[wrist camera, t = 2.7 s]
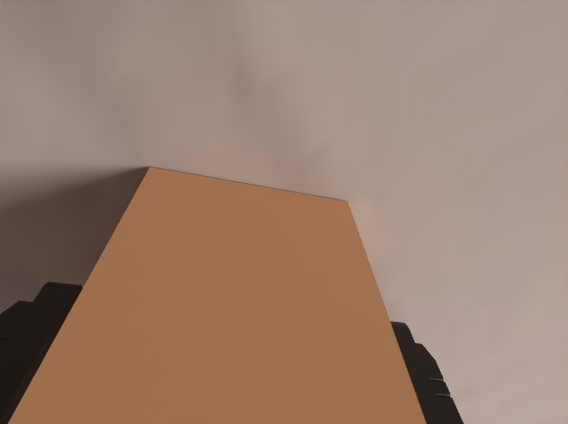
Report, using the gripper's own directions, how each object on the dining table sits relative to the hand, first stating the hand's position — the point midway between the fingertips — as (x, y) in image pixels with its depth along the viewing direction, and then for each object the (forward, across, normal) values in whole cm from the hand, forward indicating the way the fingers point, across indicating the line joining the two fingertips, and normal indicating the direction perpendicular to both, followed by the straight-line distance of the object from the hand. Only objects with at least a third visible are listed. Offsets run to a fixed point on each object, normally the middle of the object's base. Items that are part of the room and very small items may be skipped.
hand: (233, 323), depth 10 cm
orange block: (+2, 0, 0) cm, 2 cm away
